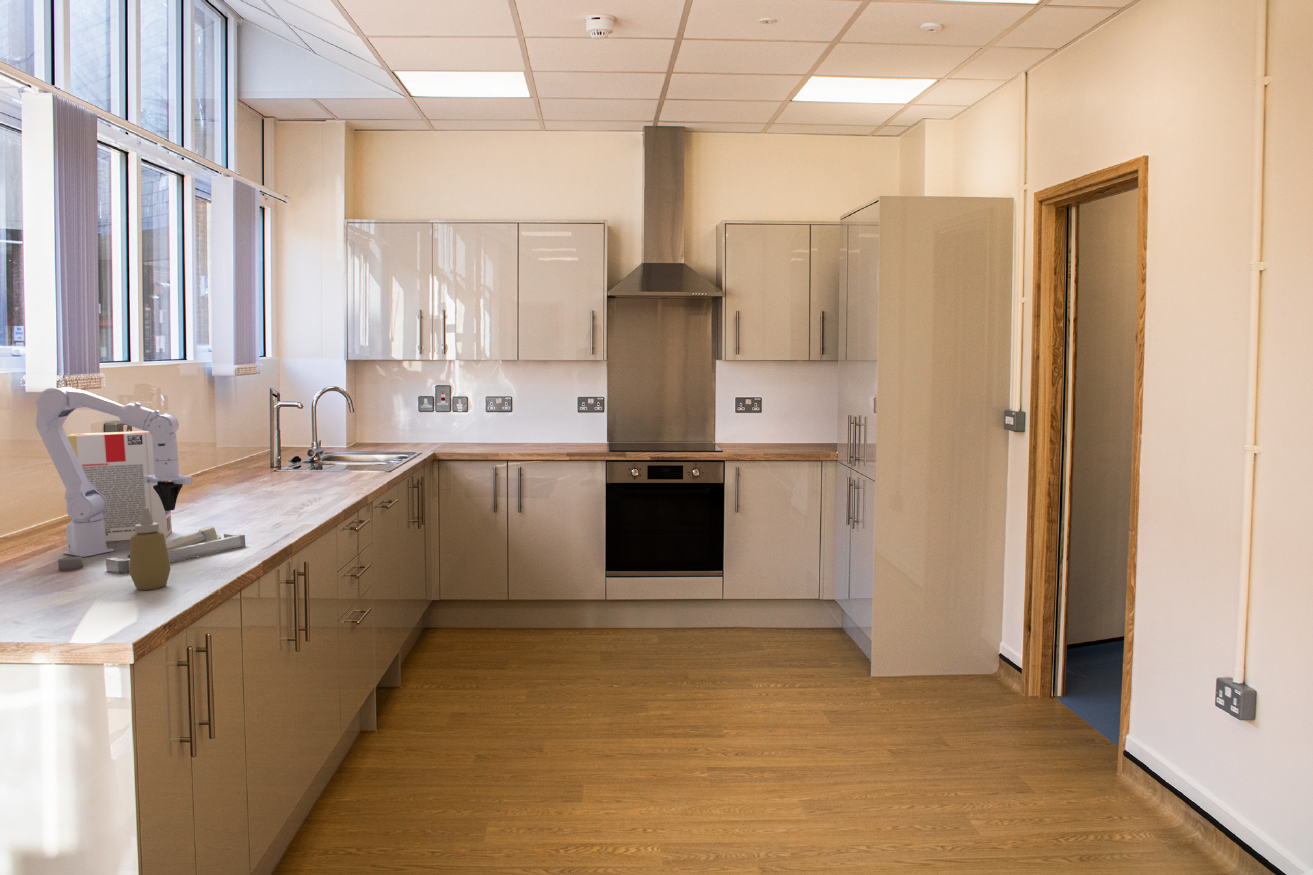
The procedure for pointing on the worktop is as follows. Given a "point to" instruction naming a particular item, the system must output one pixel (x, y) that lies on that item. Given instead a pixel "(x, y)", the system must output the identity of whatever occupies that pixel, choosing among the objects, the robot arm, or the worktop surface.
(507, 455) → the worktop surface
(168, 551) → the curved pull handle
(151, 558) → the squeeze bottle
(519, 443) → the worktop surface
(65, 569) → the smooth gray pebble
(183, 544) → the white handheld wand
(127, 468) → the pasta box
